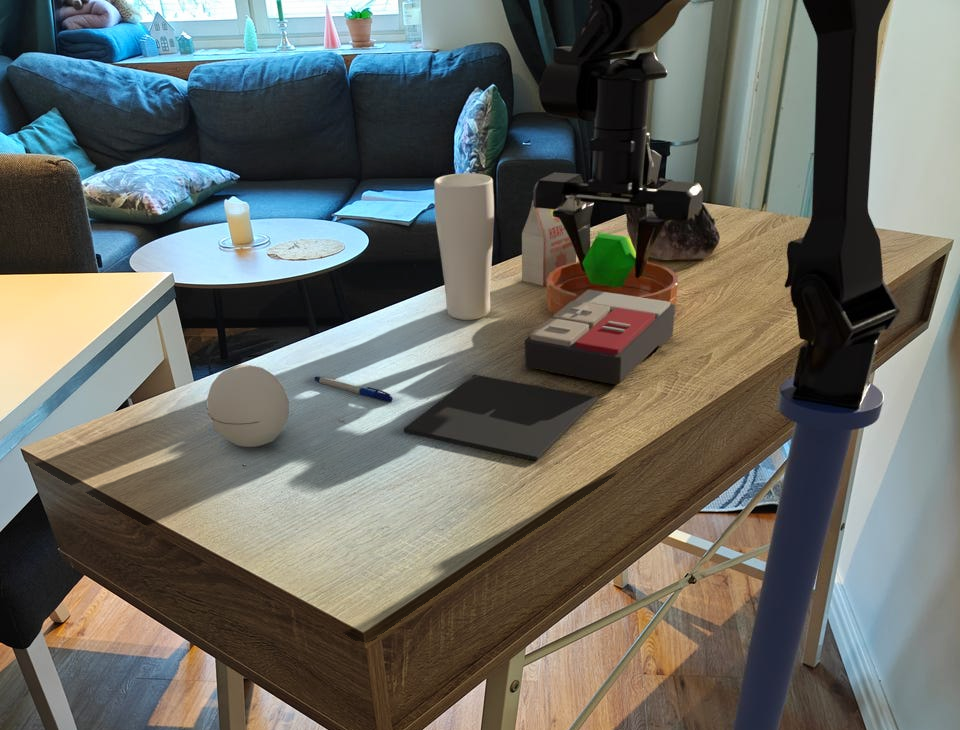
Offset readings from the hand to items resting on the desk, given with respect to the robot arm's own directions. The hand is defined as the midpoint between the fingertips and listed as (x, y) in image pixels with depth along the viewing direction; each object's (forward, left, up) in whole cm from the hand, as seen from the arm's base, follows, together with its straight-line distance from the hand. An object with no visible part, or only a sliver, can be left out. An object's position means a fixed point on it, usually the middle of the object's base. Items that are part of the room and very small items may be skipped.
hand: (612, 273), depth 107 cm
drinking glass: (+15, +9, -4) cm, 18 cm away
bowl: (0, 0, -4) cm, 4 cm away
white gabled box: (+12, -8, -4) cm, 15 cm away
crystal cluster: (+1, -26, -4) cm, 26 cm away
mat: (-2, +33, -4) cm, 33 cm away
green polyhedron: (0, 0, -1) cm, 1 cm away
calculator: (-5, +15, -4) cm, 16 cm away
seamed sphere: (+17, +49, -4) cm, 52 cm away
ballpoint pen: (+15, +34, -4) cm, 37 cm away
